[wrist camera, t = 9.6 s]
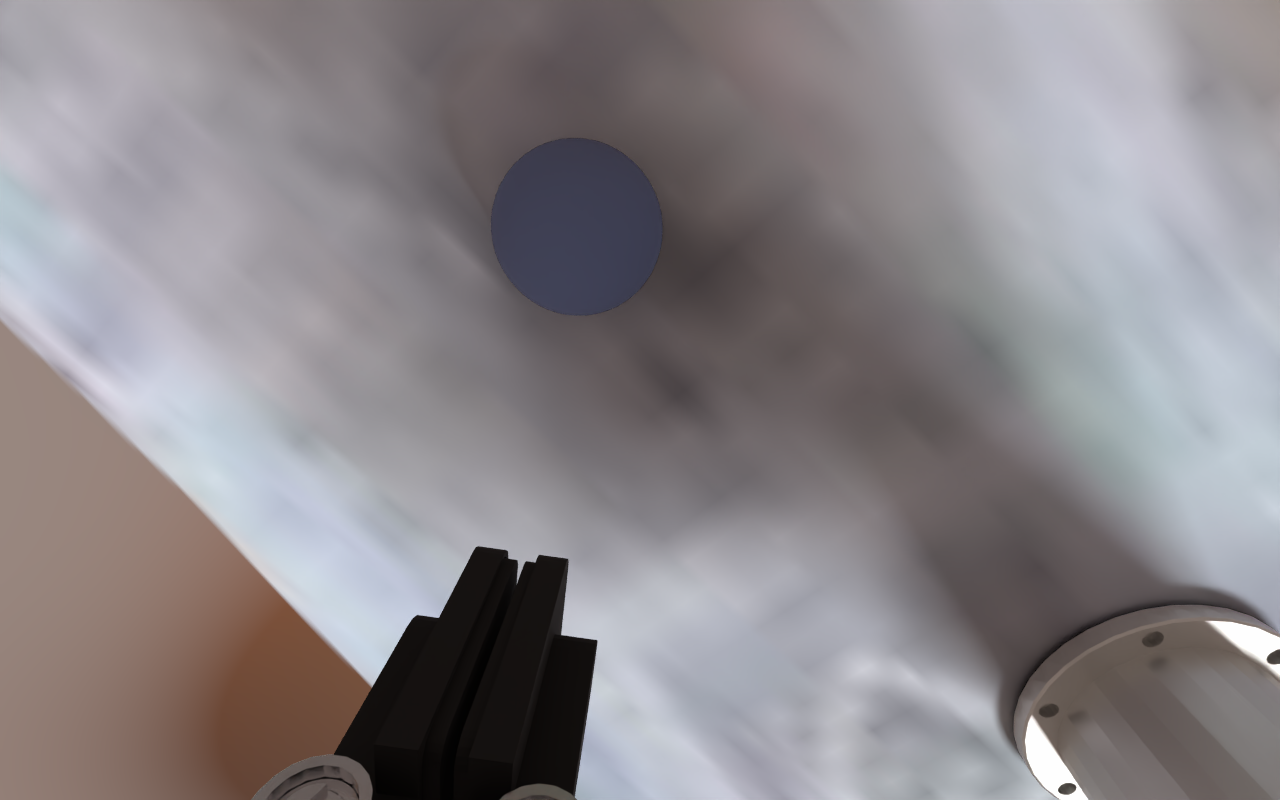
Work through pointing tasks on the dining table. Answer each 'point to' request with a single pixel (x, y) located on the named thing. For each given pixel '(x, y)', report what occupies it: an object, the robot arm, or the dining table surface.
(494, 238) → the dark blue ball
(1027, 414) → the dining table surface
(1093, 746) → the robot arm
